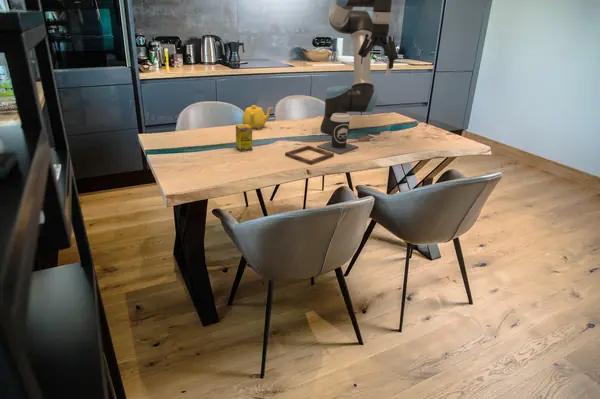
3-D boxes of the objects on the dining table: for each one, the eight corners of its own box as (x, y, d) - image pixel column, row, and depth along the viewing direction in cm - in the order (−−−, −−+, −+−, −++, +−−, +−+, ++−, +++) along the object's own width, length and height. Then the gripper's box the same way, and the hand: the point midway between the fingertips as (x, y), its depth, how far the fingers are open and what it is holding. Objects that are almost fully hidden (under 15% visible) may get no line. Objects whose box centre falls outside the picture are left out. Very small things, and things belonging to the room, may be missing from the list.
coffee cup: (351, 145, 209) (354, 114, 203) (344, 150, 201) (347, 118, 195) (332, 141, 212) (334, 111, 206) (325, 147, 205) (327, 115, 198)
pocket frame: (285, 155, 195) (285, 152, 194) (308, 148, 205) (308, 145, 204) (310, 164, 185) (310, 161, 185) (333, 156, 196) (333, 153, 195)
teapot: (253, 132, 226) (253, 110, 221) (236, 127, 235) (235, 105, 230) (273, 128, 235) (273, 106, 230) (256, 122, 244) (255, 101, 239)
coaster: (316, 147, 207) (317, 145, 206) (335, 141, 216) (335, 139, 216) (340, 154, 198) (340, 152, 198) (358, 148, 208) (358, 146, 207)
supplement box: (240, 151, 198) (239, 128, 193) (236, 148, 203) (235, 125, 198) (252, 150, 200) (252, 127, 196) (248, 146, 205) (247, 123, 201)
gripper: (352, 21, 193) (349, 71, 202) (399, 24, 176) (393, 78, 185) (363, 21, 197) (359, 69, 206) (410, 24, 181) (403, 77, 190)
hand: (375, 74), depth 196 cm, fingers open, 13 cm apart
